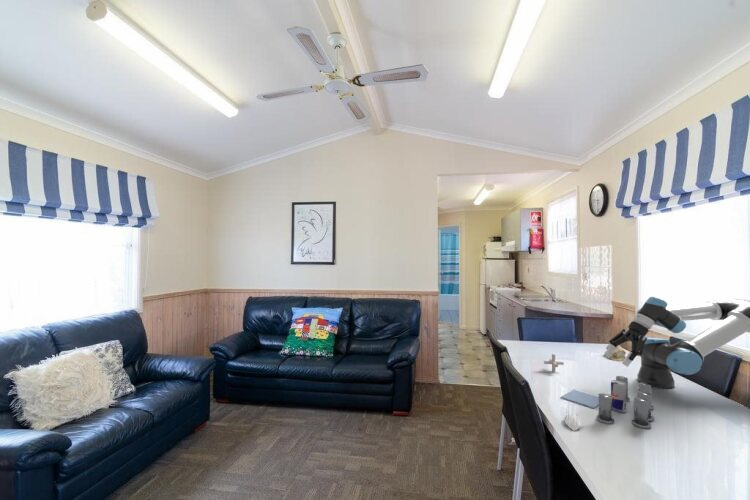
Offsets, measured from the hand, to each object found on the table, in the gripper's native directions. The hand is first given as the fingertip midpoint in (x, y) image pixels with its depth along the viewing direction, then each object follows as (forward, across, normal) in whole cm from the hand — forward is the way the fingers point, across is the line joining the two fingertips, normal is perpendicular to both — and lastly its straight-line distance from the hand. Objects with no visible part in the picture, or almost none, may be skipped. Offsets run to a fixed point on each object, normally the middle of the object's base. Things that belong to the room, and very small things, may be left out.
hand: (615, 360), depth 166 cm
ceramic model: (-8, -57, +38) cm, 69 cm away
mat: (+24, +9, -7) cm, 27 cm away
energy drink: (+19, +20, 0) cm, 27 cm away
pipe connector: (+22, -28, -4) cm, 36 cm away
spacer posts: (+18, +23, +2) cm, 29 cm away
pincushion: (+35, +32, -21) cm, 52 cm away
